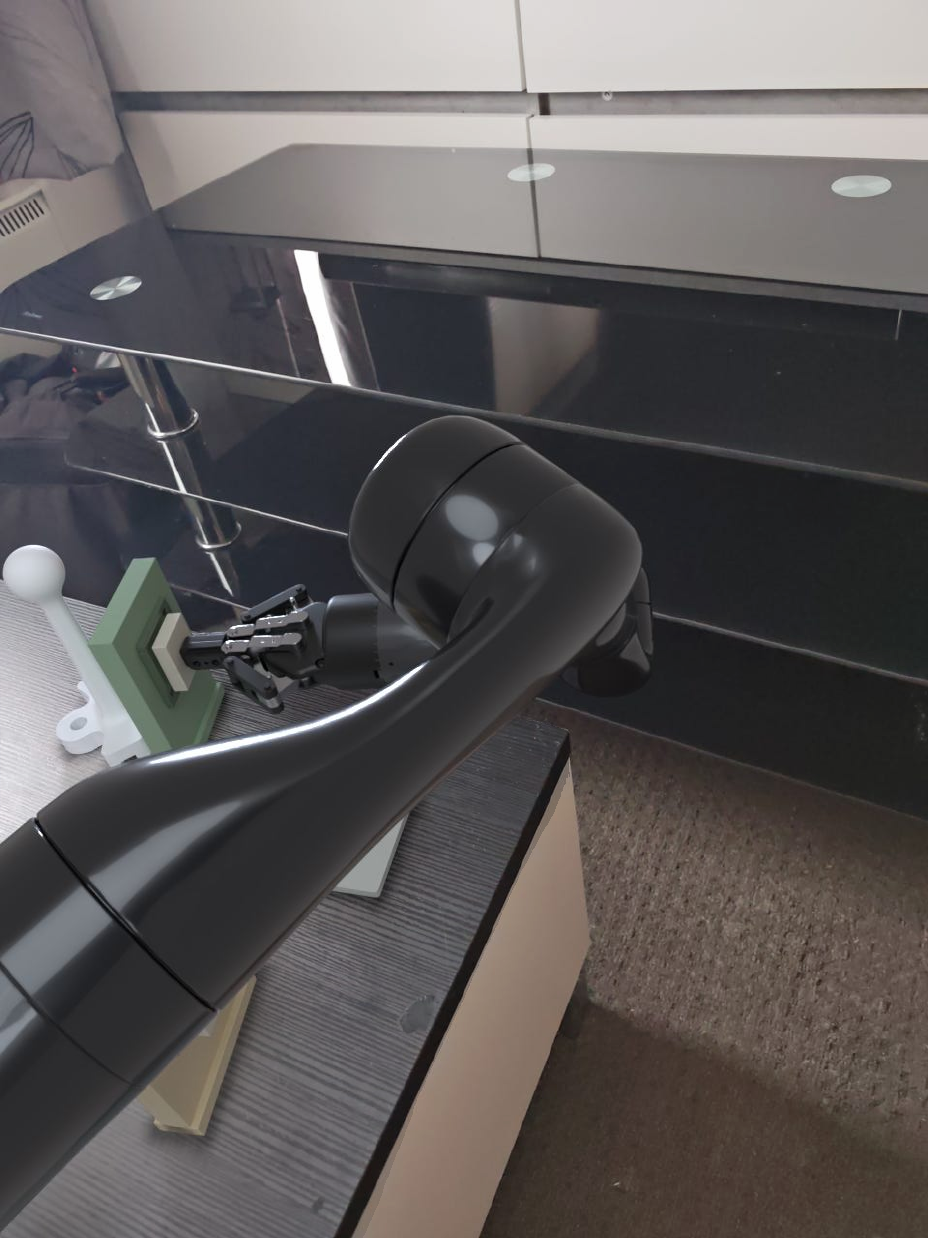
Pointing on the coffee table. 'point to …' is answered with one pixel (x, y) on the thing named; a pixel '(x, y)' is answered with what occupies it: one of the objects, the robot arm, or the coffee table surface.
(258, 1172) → the coffee table surface
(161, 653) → the far switch
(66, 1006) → the robot arm
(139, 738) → the joystick
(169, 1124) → the near plate
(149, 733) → the far plate
